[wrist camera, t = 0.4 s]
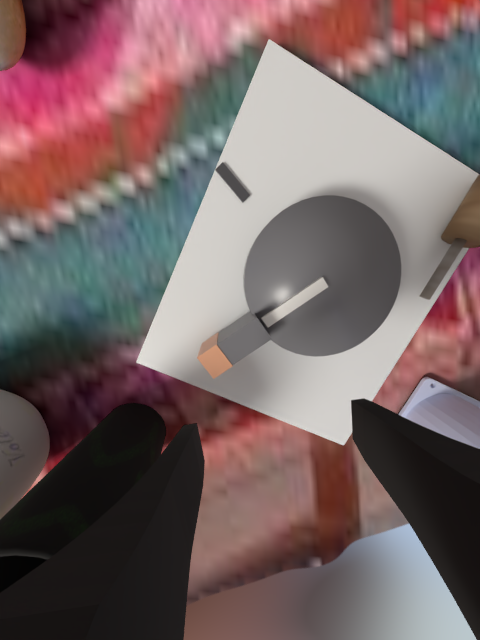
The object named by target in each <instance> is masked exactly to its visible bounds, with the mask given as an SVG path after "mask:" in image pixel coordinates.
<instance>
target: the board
mask: <svg viewBox="0 0 480 640" xmlns="http://www.w3.org/2000/svg"><path fill="white" fill-rule="evenodd" d="M478 175H479V174H478V173H476V172H475V171H473V170H472V169H470V168H469V167H467V166H465V165H464V164H462V163H461V162H459V161H458V160H456V159H455V158H453V157H451V156H450V155H448V154H447V153H445V152H444V151H442V150H441V149H439V148H437V147H436V146H434V145H433V144H431V143H430V142H428V141H427V140H425V139H423V138H422V137H420V136H419V135H417V134H416V133H414V132H413V131H411V130H409V129H408V128H406V127H405V126H403V125H402V124H400V123H399V122H397V121H395V120H394V119H392V118H391V117H389V116H388V115H386V114H385V113H383V112H381V111H380V110H378V109H377V108H375V107H374V106H372V105H371V104H369V103H367V102H366V101H364V100H363V99H361V98H360V97H358V96H357V95H355V94H353V93H352V92H350V91H349V90H347V89H346V88H344V87H343V86H341V85H339V84H338V83H336V82H335V81H333V80H332V79H330V78H329V77H327V76H325V75H324V74H322V73H321V72H319V71H318V70H316V69H315V68H313V67H311V66H310V65H308V64H307V63H305V62H304V61H302V60H301V59H299V58H297V57H296V56H294V55H293V54H291V53H290V52H288V51H287V50H285V49H283V48H282V47H280V46H279V45H277V44H276V43H274V42H273V41H271V40H268V43H267V45H266V47H265V50H264V52H263V55H262V57H261V60H260V62H259V64H258V67H257V69H256V72H255V74H254V77H253V79H252V82H251V84H250V86H249V89H248V91H247V94H246V96H245V99H244V101H243V103H242V106H241V108H240V111H239V113H238V116H237V118H236V120H235V123H234V125H233V128H232V130H231V133H230V135H229V138H228V140H227V142H226V145H225V147H224V150H223V152H222V155H221V157H220V159H219V162H218V164H217V167H216V169H215V172H214V174H213V176H212V179H211V181H210V184H209V186H208V189H207V191H206V194H205V196H204V198H203V201H202V203H201V206H200V208H199V211H198V213H197V215H196V218H195V220H194V223H193V225H192V228H191V230H190V233H189V235H188V237H187V240H186V242H185V245H184V247H183V250H182V252H181V254H180V257H179V259H178V262H177V264H176V267H175V269H174V271H173V274H172V276H171V279H170V281H169V284H168V286H167V289H166V291H165V293H164V296H163V298H162V301H161V303H160V306H159V308H158V310H157V313H156V315H155V318H154V320H153V323H152V325H151V328H150V330H149V332H148V335H147V337H146V340H145V342H144V345H143V347H142V349H141V352H140V354H139V357H138V359H137V362H136V363H139V364H141V365H144V366H146V367H149V368H151V369H154V370H156V371H159V372H161V373H164V374H166V375H169V376H171V377H174V378H176V379H179V380H181V381H184V382H186V383H189V384H191V385H194V386H196V387H199V388H201V389H204V390H206V391H209V392H211V393H214V394H216V395H219V396H221V397H224V398H226V399H229V400H231V401H234V402H236V403H239V404H241V405H244V406H246V407H249V408H251V409H254V410H256V411H259V412H261V413H264V414H266V415H269V416H271V417H274V418H276V419H279V420H281V421H284V422H286V423H289V424H291V425H294V426H296V427H299V428H301V429H304V430H306V431H309V432H311V433H314V434H316V435H319V436H321V437H324V438H326V439H329V440H331V441H334V442H336V443H339V444H341V445H344V444H345V443H346V441H347V439H348V438H349V436H350V435H351V433H352V412H351V400H356V399H363V398H365V399H367V400H369V401H371V402H372V400H373V399H374V397H375V395H376V394H377V392H378V391H379V389H380V388H381V386H382V384H383V383H384V381H385V380H386V378H387V377H388V375H389V373H390V372H391V370H392V369H393V367H394V366H395V364H396V362H397V361H398V359H399V358H400V356H401V355H402V353H403V351H404V350H405V348H406V347H407V345H408V344H409V342H410V340H411V339H412V337H413V336H414V334H415V333H416V331H417V329H418V328H419V326H420V325H421V323H422V322H423V320H424V318H425V317H426V315H427V314H428V312H429V311H430V309H431V307H432V306H433V304H434V303H435V301H436V300H437V298H438V296H439V295H440V293H441V292H442V290H443V289H444V287H445V285H446V284H447V282H448V281H449V279H450V278H451V276H452V274H453V273H454V271H455V270H456V268H457V267H458V265H459V263H460V262H461V260H462V259H463V257H464V256H465V254H466V252H467V251H468V249H469V248H462V250H461V251H460V253H459V254H458V256H457V257H456V259H455V261H454V262H453V264H452V265H451V267H450V269H449V270H448V272H447V273H446V275H445V276H444V278H443V280H442V281H441V283H440V284H439V286H438V288H437V289H436V291H435V292H434V294H433V295H432V297H431V299H430V300H428V299H424V298H422V297H420V294H421V293H422V291H423V289H424V288H425V286H426V285H427V283H428V281H429V280H430V278H431V276H432V275H433V273H434V272H435V270H436V268H437V267H438V265H439V264H440V262H441V260H442V259H443V257H444V256H445V254H446V252H447V251H448V249H449V247H450V246H451V244H448V243H446V242H445V241H443V240H442V239H441V235H442V234H443V232H444V230H445V229H446V227H447V225H448V224H449V222H450V221H451V219H452V217H453V216H454V214H455V212H456V211H457V209H458V207H459V206H460V204H461V202H462V201H463V199H464V198H465V196H466V194H467V193H468V191H469V189H470V188H471V186H472V184H473V183H474V181H475V179H476V178H477V176H478ZM323 195H335V196H342V197H347V198H350V199H354V200H357V201H359V202H361V203H363V204H365V205H367V206H368V207H369V208H371V209H372V210H374V211H375V212H376V213H377V214H378V215H379V216H380V217H382V219H383V220H384V221H385V222H386V224H387V225H388V226H389V228H390V230H391V231H392V233H393V235H394V237H395V240H396V242H397V244H398V248H399V252H400V258H401V281H400V287H399V291H398V295H397V298H396V300H395V303H394V306H393V307H392V309H391V311H390V313H389V315H388V316H387V318H386V319H385V321H384V322H383V323H382V325H381V326H380V327H379V328H378V329H377V330H376V331H375V332H374V333H373V334H372V335H371V336H370V337H369V338H367V339H366V340H365V341H363V342H362V343H361V344H359V345H357V346H355V347H353V348H352V349H349V350H347V351H344V352H342V353H338V354H334V355H329V356H316V357H314V356H305V355H300V354H296V353H293V352H290V351H288V350H286V349H284V348H282V347H280V346H278V345H277V344H276V343H274V342H273V341H271V340H270V341H268V342H267V343H265V344H264V345H262V346H261V347H259V348H258V349H256V350H255V351H253V352H252V353H250V354H249V355H247V356H246V357H244V358H243V359H241V360H240V361H238V362H237V363H235V364H234V365H233V367H231V368H230V369H228V370H227V371H225V372H224V373H222V374H221V375H219V376H218V377H216V378H215V379H213V378H212V376H211V375H210V374H209V373H208V371H207V370H206V369H205V368H204V366H203V365H202V364H201V362H200V361H199V360H198V359H197V356H198V353H199V350H200V347H201V345H202V343H203V342H205V341H206V340H207V339H209V338H210V337H212V336H213V335H215V334H216V333H218V332H220V331H222V330H223V329H225V328H226V327H228V326H229V325H231V324H232V323H234V322H235V321H236V320H238V319H239V318H241V317H242V316H244V315H245V314H247V313H248V312H250V310H249V308H248V305H247V302H246V299H245V294H244V287H243V275H244V267H245V263H246V259H247V256H248V253H249V251H250V248H251V246H252V245H253V243H254V241H255V239H256V238H257V236H258V235H259V234H260V232H261V231H262V230H263V228H264V227H265V226H266V225H267V224H268V223H269V222H270V221H271V220H272V219H273V218H274V217H275V216H276V215H278V214H279V213H280V212H281V211H283V210H284V209H286V208H287V207H289V206H291V205H292V204H295V203H297V202H299V201H301V200H304V199H308V198H311V197H317V196H323Z"/></svg>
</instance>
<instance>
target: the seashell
mask: <svg viewBox="0 0 480 640" xmlns="http://www.w3.org/2000/svg"><path fill="white" fill-rule="evenodd" d="M25 42H26V23H25V15H24V9H23V4H22V0H0V71H3V70H7V69H10V68H12V67H13V66H14V65H15V64H16V63H17V62H18V61H19V59H20V58H21V56H22V54H23V51H24V47H25Z"/></svg>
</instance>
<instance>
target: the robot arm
mask: <svg viewBox="0 0 480 640" xmlns="http://www.w3.org/2000/svg"><path fill="white" fill-rule="evenodd" d="M431 384H432V385H431ZM351 412H352V434H353V440H354V442H355V444H356V446H357V447H358V449H359V451H360V453H361V455H362V456H363V458H364V460H365V461H366V463H367V464H368V466H369V467H370V469H371V470H372V471H373V473H374V474H375V476H376V477H377V478H378V480H379V481H380V483H381V484H382V485H383V487H384V488H385V490H386V491H387V492H388V494H389V495H390V497H391V498H392V499H393V501H394V502H395V503H396V505H397V506H398V508H399V509H400V510H401V512H402V513H403V515H404V516H405V518H406V519H407V521H408V522H409V524H410V525H411V526H412V528H413V530H414V531H415V533H416V535H417V536H418V538H419V540H420V541H421V543H422V544H423V546H424V548H425V550H426V551H427V553H428V555H429V556H430V558H431V559H432V561H433V563H434V565H435V566H436V568H437V570H438V571H439V573H440V575H441V576H442V578H443V580H444V582H445V583H446V585H447V587H448V589H449V590H450V592H451V594H452V596H453V597H454V599H455V601H456V603H457V605H458V606H459V608H460V610H461V612H462V613H463V615H464V617H465V619H466V620H467V622H468V624H469V626H470V628H471V630H472V631H473V633H474V635H475V637H476V639H477V640H480V401H478V400H476V399H474V398H472V397H470V396H467V395H465V394H463V393H461V392H459V391H457V390H455V389H453V388H451V387H448V386H446V385H444V384H442V383H440V382H438V381H436V380H434V379H432V378H429V377H424V378H423V379H422V380H421V381H420V383H419V384H418V386H417V387H416V389H415V390H414V392H413V393H412V395H411V396H410V398H409V399H408V401H407V402H406V404H405V405H404V407H403V408H402V410H401V411H400V413H399V414H396V413H394V412H392V411H390V410H388V409H386V408H384V407H382V406H380V405H378V404H376V403H374V402H371V401H369V400H367V399H365V398H363V399H356V400H351ZM203 478H204V456H203V451H202V446H201V441H200V436H199V431H198V427H197V423H195V424H189V425H184V426H183V427H182V428H181V429H180V431H179V432H178V433H177V435H176V436H175V437H174V438H173V440H172V441H171V442H170V444H169V445H168V446H167V448H166V449H165V450H164V451H163V453H162V454H161V455H160V456H159V458H158V459H157V460H156V461H155V463H154V464H153V465H152V466H151V467H150V468H149V469H148V471H147V472H146V473H145V474H144V475H143V476H142V478H141V479H140V480H139V481H138V482H137V483H136V484H135V485H134V486H133V487H132V488H131V489H130V490H129V491H128V492H127V493H126V494H125V495H124V496H123V497H122V498H121V499H120V500H119V501H118V502H117V503H116V504H115V505H114V506H113V507H111V508H110V509H109V510H108V511H107V512H106V513H105V514H104V515H102V516H101V517H100V518H99V519H98V520H97V521H96V522H94V523H93V524H92V525H91V526H90V527H89V528H88V529H86V530H85V531H84V532H83V533H81V534H80V535H79V536H78V537H76V538H75V539H74V540H73V541H71V542H70V543H69V544H68V545H66V546H65V547H64V548H62V549H61V550H60V551H58V552H57V553H56V554H55V555H53V556H52V557H51V558H49V559H48V560H46V561H45V562H44V563H42V564H41V565H39V566H38V567H37V568H35V569H34V570H32V571H31V572H30V573H28V574H27V575H25V576H24V577H22V578H21V579H20V580H18V581H17V582H15V583H14V584H12V585H11V586H10V587H8V588H7V589H5V590H4V591H2V592H1V593H0V640H183V637H184V625H185V613H186V602H187V591H188V580H189V570H190V560H191V553H192V546H193V540H194V534H195V529H196V523H197V517H198V511H199V506H200V500H201V494H202V488H203Z"/></svg>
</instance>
